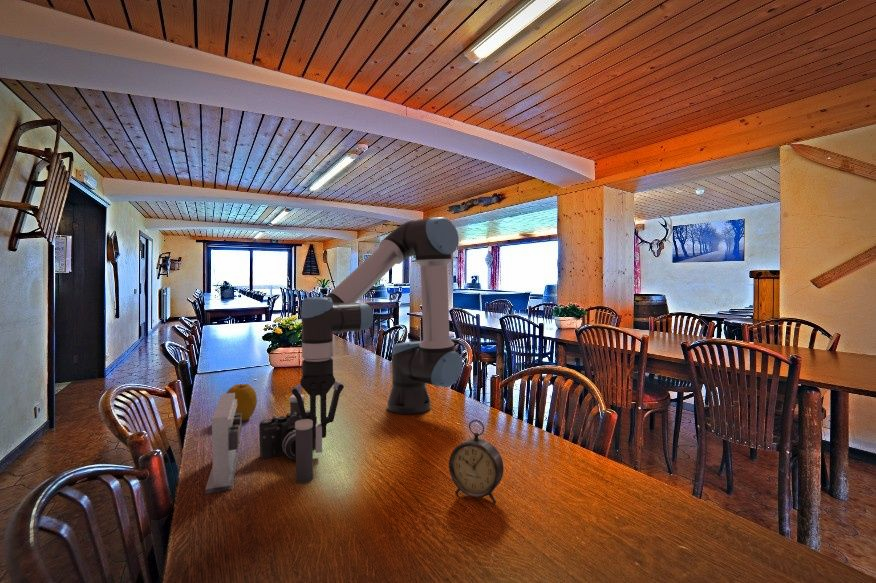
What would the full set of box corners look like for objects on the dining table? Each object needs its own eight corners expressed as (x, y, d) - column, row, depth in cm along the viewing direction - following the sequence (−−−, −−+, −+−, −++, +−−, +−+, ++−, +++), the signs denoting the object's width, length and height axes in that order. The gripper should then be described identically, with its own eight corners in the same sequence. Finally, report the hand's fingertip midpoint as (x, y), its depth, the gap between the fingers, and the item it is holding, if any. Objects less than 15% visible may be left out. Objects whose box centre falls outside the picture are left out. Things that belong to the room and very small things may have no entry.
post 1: (305, 440, 118) (303, 393, 117) (306, 445, 114) (304, 397, 114) (291, 442, 116) (289, 395, 116) (291, 447, 113) (289, 398, 112)
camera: (264, 470, 100) (264, 429, 99) (258, 453, 109) (257, 415, 109) (324, 457, 107) (324, 418, 107) (313, 442, 116) (313, 407, 116)
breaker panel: (242, 452, 110) (241, 392, 109) (237, 488, 91) (235, 415, 90) (216, 456, 107) (215, 394, 107) (205, 494, 89) (203, 419, 88)
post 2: (312, 474, 98) (311, 418, 97) (314, 481, 94) (313, 423, 94) (295, 477, 96) (294, 420, 96) (296, 484, 93) (295, 425, 92)
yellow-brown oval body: (216, 422, 132) (216, 385, 132) (241, 413, 141) (241, 378, 141) (240, 426, 129) (239, 388, 128) (264, 417, 138) (263, 381, 137)
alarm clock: (447, 495, 88) (447, 419, 88) (458, 484, 93) (458, 412, 92) (497, 509, 83) (497, 428, 82) (506, 496, 88) (506, 420, 87)
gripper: (341, 354, 112) (342, 441, 113) (289, 357, 107) (290, 448, 108) (346, 359, 105) (346, 452, 106) (291, 363, 100) (292, 460, 101)
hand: (318, 450), depth 107 cm, fingers closed
